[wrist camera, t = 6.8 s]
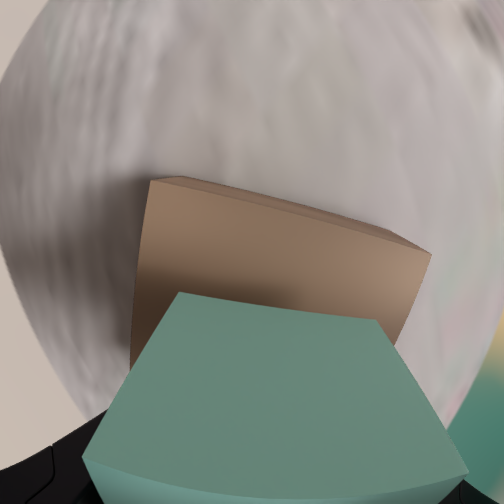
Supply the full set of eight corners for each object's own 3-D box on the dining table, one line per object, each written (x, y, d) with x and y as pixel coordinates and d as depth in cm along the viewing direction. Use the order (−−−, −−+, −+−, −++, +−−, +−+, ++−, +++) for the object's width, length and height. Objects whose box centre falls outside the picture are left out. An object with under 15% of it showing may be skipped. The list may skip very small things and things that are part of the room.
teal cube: (323, 444, 9) (343, 570, 4) (174, 427, 9) (136, 555, 4) (375, 319, 7) (469, 472, 2) (179, 291, 7) (81, 456, 2)
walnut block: (322, 390, 15) (335, 444, 11) (155, 354, 15) (129, 404, 11) (387, 229, 13) (431, 254, 9) (184, 175, 12) (150, 180, 8)
